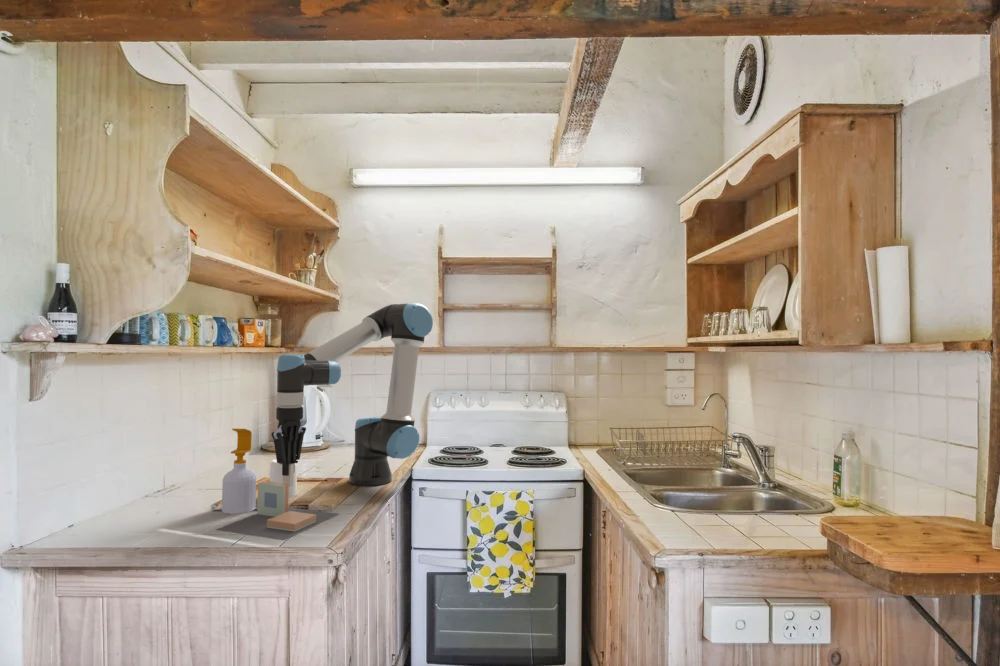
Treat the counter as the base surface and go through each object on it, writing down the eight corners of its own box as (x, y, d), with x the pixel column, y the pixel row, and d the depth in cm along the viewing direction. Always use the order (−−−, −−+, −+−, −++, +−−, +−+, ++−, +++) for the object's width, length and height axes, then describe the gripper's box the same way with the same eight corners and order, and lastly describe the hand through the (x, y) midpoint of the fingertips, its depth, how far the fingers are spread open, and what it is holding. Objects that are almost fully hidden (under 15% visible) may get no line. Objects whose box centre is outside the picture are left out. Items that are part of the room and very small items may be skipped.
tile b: (262, 512, 170) (263, 481, 170) (288, 515, 167) (288, 484, 167) (257, 514, 168) (257, 482, 168) (283, 517, 165) (283, 485, 165)
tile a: (289, 510, 164) (266, 520, 156) (316, 514, 161) (295, 524, 153) (289, 518, 164) (266, 528, 156) (316, 522, 161) (294, 532, 153)
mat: (277, 507, 177) (277, 505, 177) (339, 516, 170) (339, 514, 170) (215, 531, 154) (215, 529, 154) (284, 542, 147) (284, 540, 147)
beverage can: (263, 499, 185) (264, 461, 186) (281, 493, 193) (282, 456, 193) (285, 502, 183) (285, 463, 183) (301, 495, 191) (302, 458, 191)
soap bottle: (216, 515, 168) (218, 429, 168) (230, 506, 177) (232, 425, 177) (247, 516, 168) (249, 430, 168) (260, 507, 177) (262, 425, 177)
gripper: (293, 403, 181) (291, 479, 181) (264, 407, 169) (262, 489, 169) (314, 404, 179) (312, 482, 179) (285, 409, 167) (283, 492, 166)
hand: (287, 485), depth 174 cm, fingers closed
